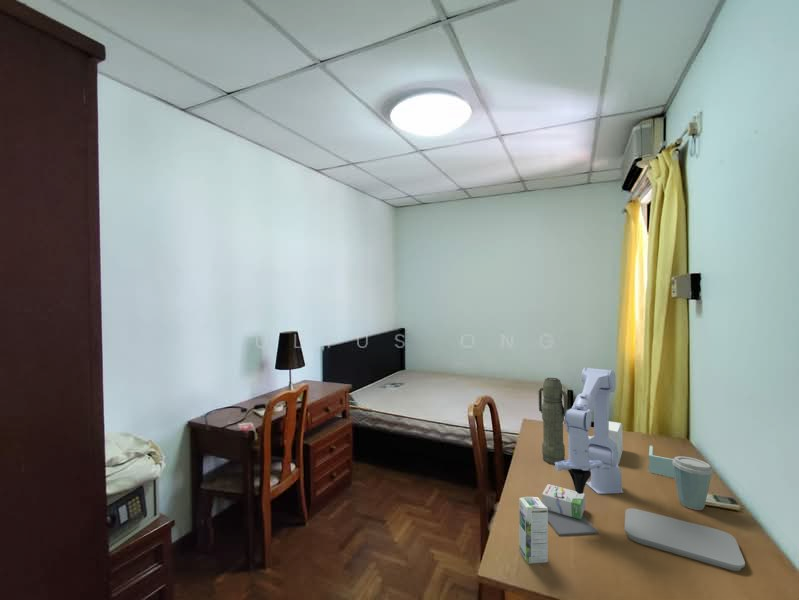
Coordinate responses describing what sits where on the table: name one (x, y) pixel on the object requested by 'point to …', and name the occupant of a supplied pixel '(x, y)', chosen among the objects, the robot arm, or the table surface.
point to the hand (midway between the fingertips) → (579, 492)
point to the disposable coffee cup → (692, 481)
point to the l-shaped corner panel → (660, 465)
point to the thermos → (553, 420)
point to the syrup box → (533, 530)
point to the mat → (570, 525)
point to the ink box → (564, 501)
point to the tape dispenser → (616, 436)
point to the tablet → (684, 539)
